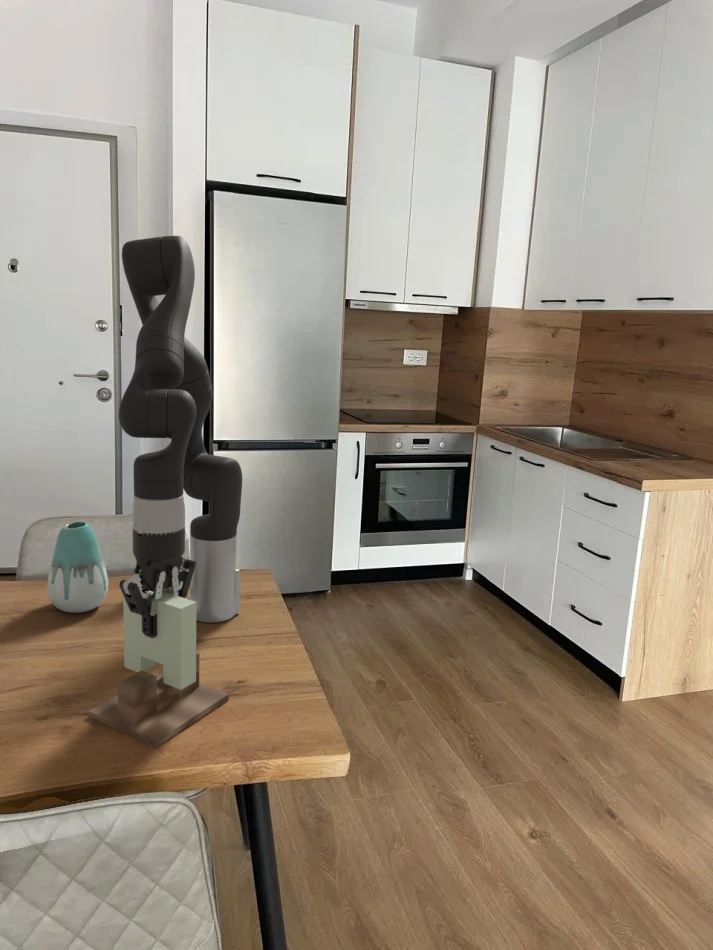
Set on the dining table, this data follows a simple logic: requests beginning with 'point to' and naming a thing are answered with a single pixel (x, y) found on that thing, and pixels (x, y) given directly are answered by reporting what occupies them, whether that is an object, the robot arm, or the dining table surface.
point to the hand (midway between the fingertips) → (159, 631)
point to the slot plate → (156, 706)
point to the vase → (77, 570)
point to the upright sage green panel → (164, 640)
